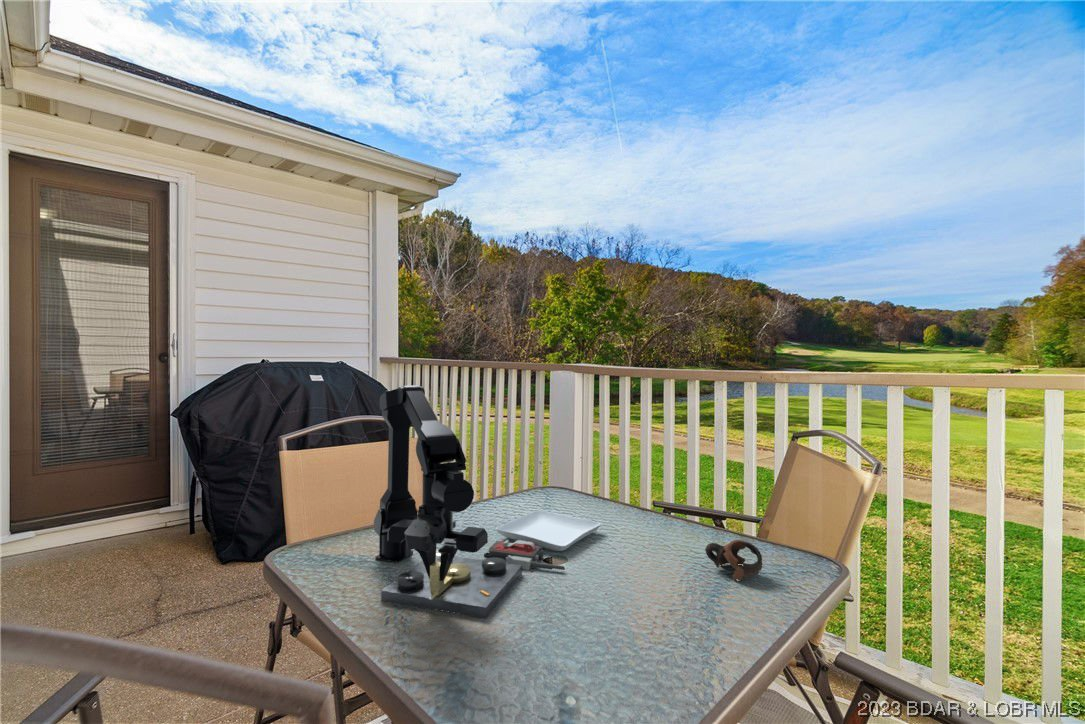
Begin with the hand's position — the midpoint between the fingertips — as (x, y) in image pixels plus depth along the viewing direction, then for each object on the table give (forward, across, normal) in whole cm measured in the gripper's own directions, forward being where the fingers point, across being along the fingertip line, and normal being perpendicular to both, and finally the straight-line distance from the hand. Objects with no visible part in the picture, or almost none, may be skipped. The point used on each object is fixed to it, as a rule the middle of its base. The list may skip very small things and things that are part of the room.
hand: (437, 579), depth 99 cm
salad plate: (+5, +10, +43) cm, 44 cm away
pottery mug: (+5, +55, +34) cm, 65 cm away
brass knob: (+3, 0, +5) cm, 6 cm away
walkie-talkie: (+6, +10, +25) cm, 28 cm away
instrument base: (+5, 0, +8) cm, 9 cm away
